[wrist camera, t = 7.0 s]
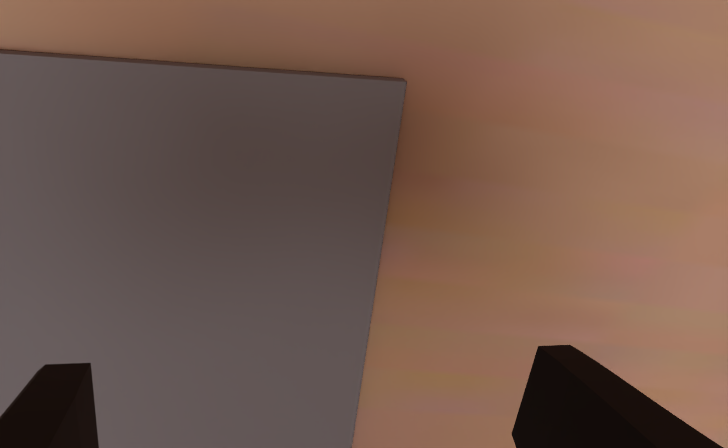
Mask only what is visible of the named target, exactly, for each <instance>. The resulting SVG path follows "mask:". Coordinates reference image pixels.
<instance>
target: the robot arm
mask: <svg viewBox="0 0 728 448" xmlns="http://www.w3.org/2000/svg"><path fill="white" fill-rule="evenodd" d="M512 436H513V439H514V442H515V445H516V448H723V447H721V446H720V445H718V444H717V443H715V442H714V441H712V440H711V439H709V438H708V437H706V436H705V435H703V434H701V433H700V432H698V431H697V430H695V429H694V428H692V427H691V426H689V425H688V424H686V423H685V422H684V421H682V420H681V419H679V418H678V417H676V416H675V415H673V414H672V413H670V412H669V411H667V410H666V409H664V408H663V407H662V406H660V405H659V404H657V403H656V402H654V401H653V400H651V399H650V398H649V397H647V396H646V395H644V394H643V393H641V392H640V391H639V390H637V389H636V388H634V387H633V386H631V385H630V384H628V383H627V382H626V381H624V380H623V379H621V378H620V377H618V376H617V375H615V374H614V373H613V372H611V371H610V370H608V369H607V368H605V367H604V366H602V365H601V364H599V363H598V362H596V361H595V360H593V359H592V358H590V357H589V356H587V355H586V354H584V353H583V352H581V351H579V350H578V349H576V348H574V347H573V346H571V345H555V346H538V349H537V352H536V355H535V359H534V362H533V365H532V369H531V372H530V375H529V379H528V382H527V385H526V388H525V392H524V395H523V398H522V402H521V405H520V408H519V412H518V415H517V418H516V421H515V425H514V428H513V431H512ZM0 448H99V444H98V433H97V423H96V412H95V402H94V391H93V381H92V370H91V363H70V364H45V365H44V366H43V367H42V368H41V369H39V370H38V371H37V372H36V374H35V375H34V376H33V377H32V379H31V380H30V381H29V382H28V384H27V385H26V386H25V387H24V388H23V390H22V391H21V392H20V393H19V395H18V396H17V397H16V398H15V399H14V401H13V402H12V403H11V404H10V406H9V407H8V408H7V409H6V410H5V412H4V413H3V414H2V415H1V416H0Z"/></svg>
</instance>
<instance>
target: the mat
mask: <svg viewBox="0 0 728 448" xmlns="http://www.w3.org/2000/svg"><path fill="white" fill-rule="evenodd" d="M406 84H407V82H406V81H405V80H404V79H403V78H389V77H375V76H361V75H347V74H333V73H319V72H305V71H291V70H277V69H263V68H249V67H235V66H221V65H207V64H193V63H179V62H165V61H151V60H137V59H123V58H109V57H95V56H81V55H67V54H53V53H39V52H25V51H11V50H0V416H1V415H2V414H3V413H4V412H5V410H6V409H7V408H8V407H9V406H10V404H11V403H12V402H13V401H14V399H15V398H16V397H17V396H18V395H19V393H20V392H21V391H22V390H23V388H24V387H25V386H26V385H27V384H28V382H29V381H30V380H31V379H32V377H33V376H34V375H35V374H36V372H37V371H38V370H39V369H41V368H42V367H43V366H44V365H45V364H70V363H91V370H92V381H93V391H94V402H95V412H96V423H97V433H98V444H99V448H352V442H353V435H354V428H355V422H356V415H357V409H358V402H359V395H360V389H361V382H362V375H363V369H364V362H365V356H366V349H367V342H368V336H369V329H370V323H371V316H372V309H373V303H374V296H375V289H376V283H377V276H378V270H379V263H380V256H381V250H382V243H383V236H384V230H385V223H386V217H387V210H388V203H389V197H390V190H391V184H392V177H393V170H394V164H395V157H396V150H397V144H398V137H399V131H400V124H401V117H402V111H403V104H404V97H405V91H406Z"/></svg>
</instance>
